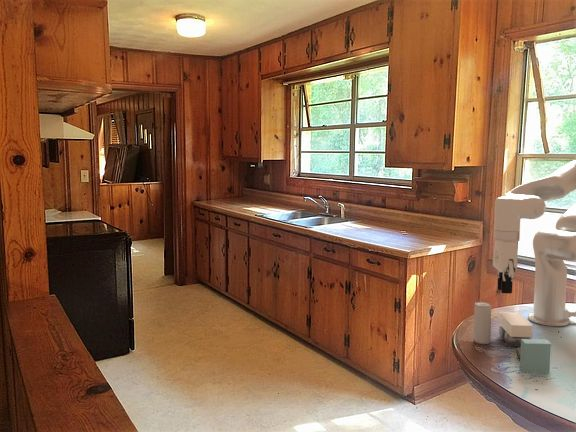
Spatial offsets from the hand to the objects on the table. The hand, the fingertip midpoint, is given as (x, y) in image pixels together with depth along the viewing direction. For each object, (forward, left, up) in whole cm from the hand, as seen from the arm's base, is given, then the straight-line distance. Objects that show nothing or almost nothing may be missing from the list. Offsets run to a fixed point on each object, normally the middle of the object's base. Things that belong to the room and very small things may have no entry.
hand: (504, 290), depth 156 cm
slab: (0, +11, -9) cm, 14 cm away
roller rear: (0, +8, -13) cm, 15 cm away
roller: (0, +23, -13) cm, 26 cm away
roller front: (0, +13, -13) cm, 19 cm away
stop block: (+1, +30, -13) cm, 33 cm away
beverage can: (+10, +11, -13) cm, 19 cm away
